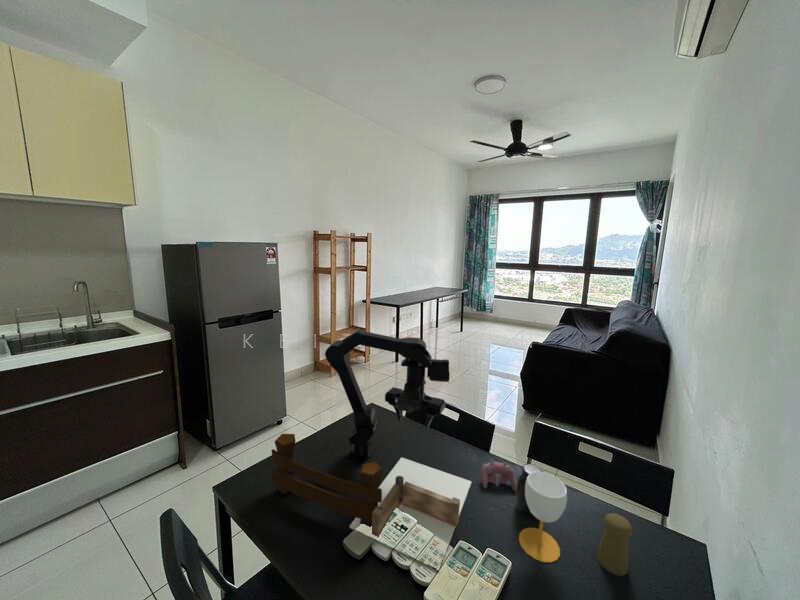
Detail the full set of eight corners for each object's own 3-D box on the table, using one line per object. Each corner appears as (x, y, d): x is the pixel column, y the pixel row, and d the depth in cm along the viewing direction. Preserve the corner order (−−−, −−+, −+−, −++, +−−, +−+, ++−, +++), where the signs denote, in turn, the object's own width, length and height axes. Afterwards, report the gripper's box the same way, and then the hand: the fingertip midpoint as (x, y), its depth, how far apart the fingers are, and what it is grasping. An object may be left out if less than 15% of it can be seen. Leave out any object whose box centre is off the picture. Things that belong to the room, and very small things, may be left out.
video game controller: (513, 488, 96) (512, 462, 98) (518, 492, 92) (517, 465, 94) (480, 485, 97) (479, 459, 99) (483, 489, 92) (482, 462, 94)
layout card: (349, 527, 78) (349, 525, 78) (401, 458, 105) (401, 457, 105) (440, 571, 69) (440, 569, 69) (472, 483, 95) (472, 481, 95)
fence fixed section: (371, 535, 76) (371, 511, 75) (396, 495, 88) (397, 474, 87) (379, 538, 75) (379, 514, 74) (404, 498, 88) (405, 477, 87)
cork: (590, 550, 75) (596, 508, 73) (614, 549, 76) (621, 508, 74) (608, 576, 69) (616, 532, 67) (635, 575, 70) (643, 530, 68)
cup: (555, 532, 79) (562, 474, 77) (564, 567, 71) (574, 503, 68) (516, 524, 81) (522, 467, 79) (521, 557, 73) (528, 494, 70)
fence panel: (402, 503, 86) (403, 483, 85) (405, 498, 87) (406, 479, 86) (456, 525, 79) (457, 504, 78) (458, 520, 81) (459, 499, 80)
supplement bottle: (541, 504, 88) (546, 464, 86) (543, 523, 82) (549, 481, 80) (514, 497, 90) (519, 458, 88) (515, 515, 84) (519, 474, 82)
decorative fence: (269, 490, 89) (268, 440, 86) (284, 476, 94) (283, 429, 92) (378, 537, 76) (380, 480, 73) (389, 518, 81) (391, 465, 79)
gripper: (376, 382, 97) (375, 429, 100) (435, 396, 89) (432, 447, 92) (393, 370, 107) (391, 413, 110) (447, 382, 99) (444, 428, 102)
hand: (413, 425), depth 103 cm, fingers open, 9 cm apart
